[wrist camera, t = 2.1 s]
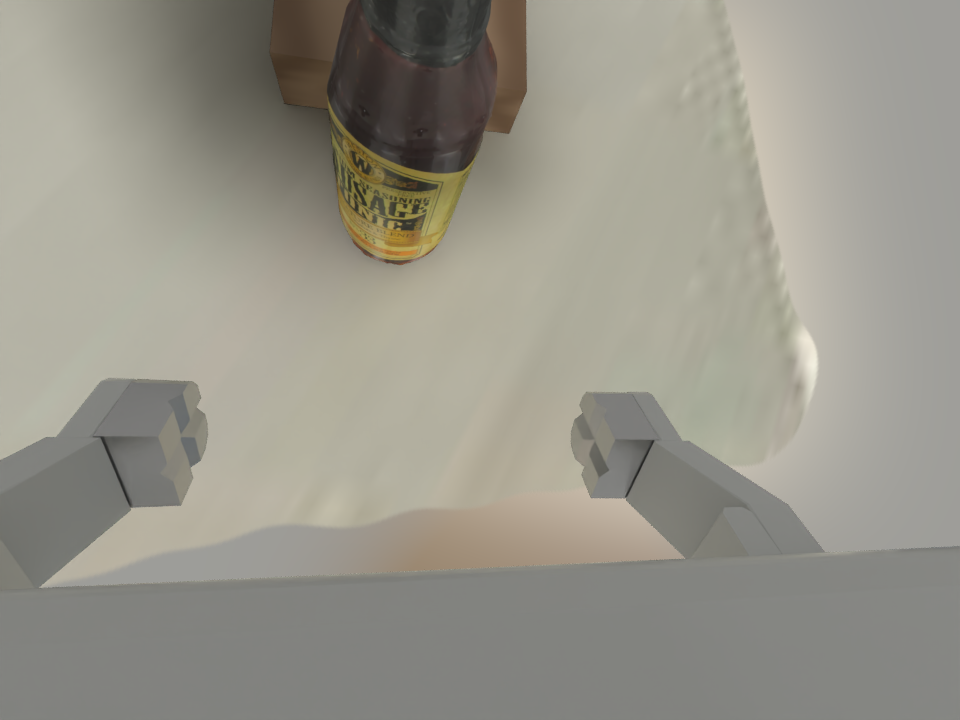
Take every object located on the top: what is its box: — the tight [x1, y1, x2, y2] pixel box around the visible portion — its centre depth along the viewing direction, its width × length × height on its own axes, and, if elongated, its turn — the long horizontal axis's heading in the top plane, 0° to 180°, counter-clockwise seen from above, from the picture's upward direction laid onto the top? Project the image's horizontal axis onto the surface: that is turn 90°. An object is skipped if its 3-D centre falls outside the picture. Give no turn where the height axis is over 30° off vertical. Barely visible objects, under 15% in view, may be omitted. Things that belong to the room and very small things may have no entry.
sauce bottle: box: [327, 0, 498, 265], centre depth 20 cm, size 6×6×20 cm
